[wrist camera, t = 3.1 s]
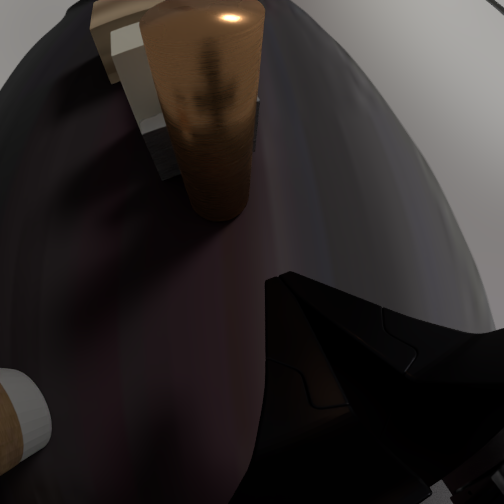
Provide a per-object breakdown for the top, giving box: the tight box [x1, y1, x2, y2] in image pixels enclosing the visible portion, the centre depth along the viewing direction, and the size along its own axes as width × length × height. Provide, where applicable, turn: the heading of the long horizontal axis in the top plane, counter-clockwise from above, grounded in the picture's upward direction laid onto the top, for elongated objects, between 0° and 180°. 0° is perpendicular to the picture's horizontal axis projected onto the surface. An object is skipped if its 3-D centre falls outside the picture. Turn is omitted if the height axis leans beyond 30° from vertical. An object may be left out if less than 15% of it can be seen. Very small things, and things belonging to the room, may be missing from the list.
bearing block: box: [90, 0, 165, 85], centre depth 19 cm, size 7×11×6 cm, turn 111°
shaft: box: [139, 0, 265, 222], centre depth 14 cm, size 23×6×12 cm, turn 21°
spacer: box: [111, 22, 162, 133], centre depth 15 cm, size 3×7×8 cm, turn 110°
